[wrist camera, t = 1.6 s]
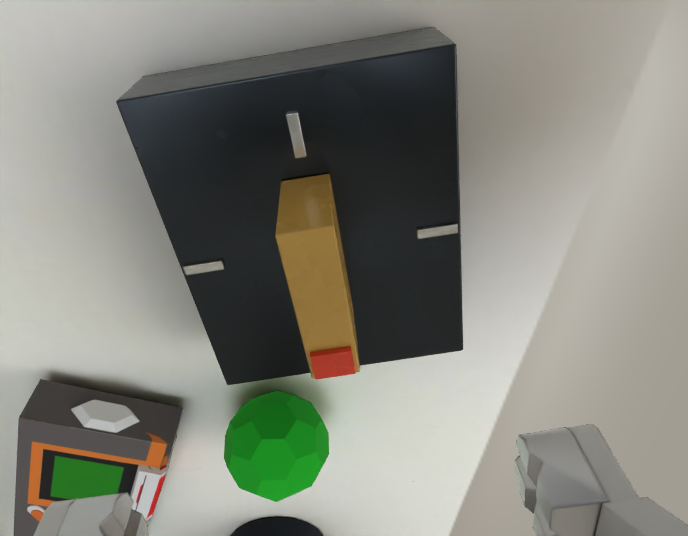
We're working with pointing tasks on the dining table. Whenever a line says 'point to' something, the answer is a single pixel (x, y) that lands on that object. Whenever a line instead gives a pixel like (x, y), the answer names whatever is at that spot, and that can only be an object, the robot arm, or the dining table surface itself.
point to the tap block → (306, 161)
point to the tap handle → (317, 275)
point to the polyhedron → (276, 445)
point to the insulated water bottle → (277, 528)
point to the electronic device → (89, 450)
